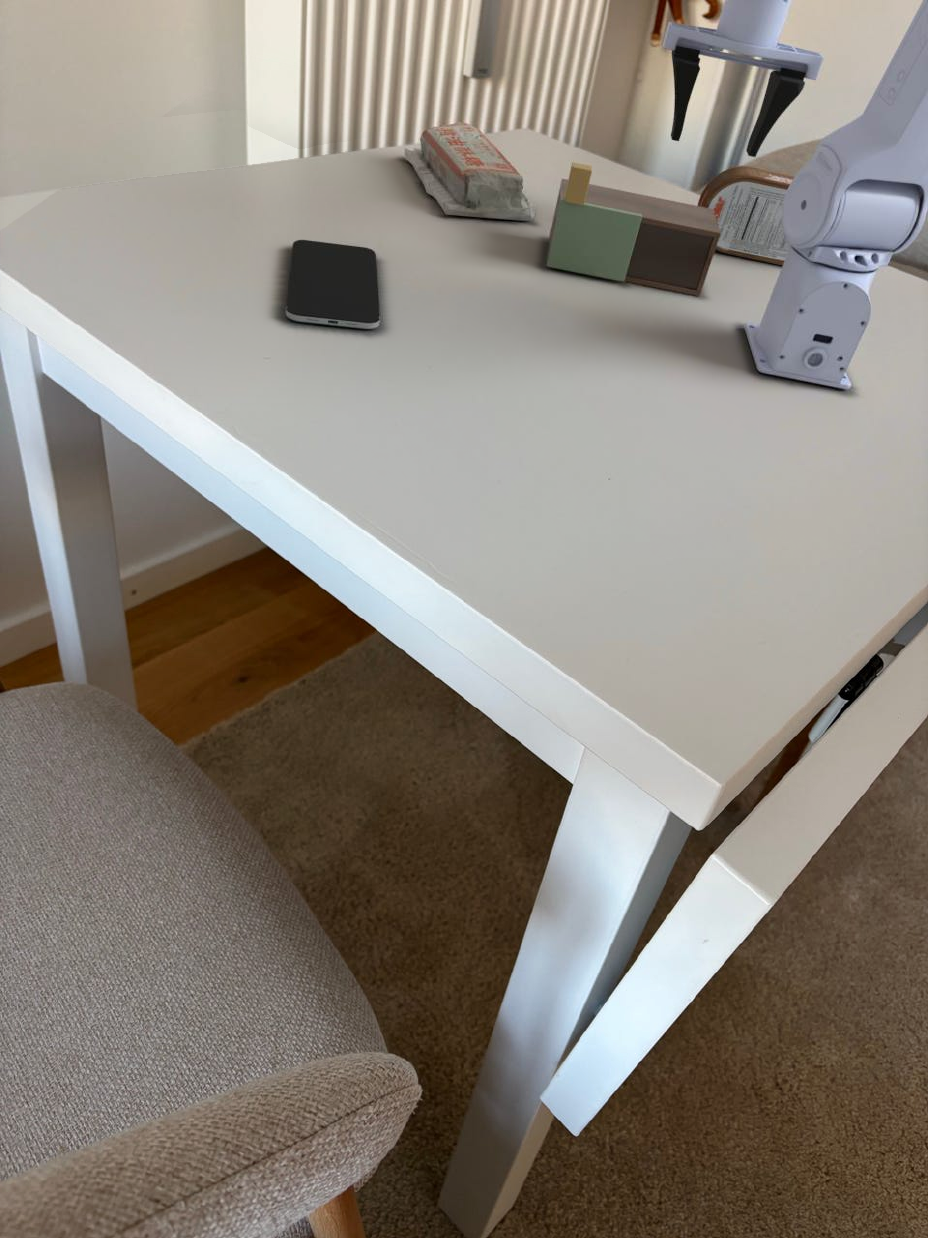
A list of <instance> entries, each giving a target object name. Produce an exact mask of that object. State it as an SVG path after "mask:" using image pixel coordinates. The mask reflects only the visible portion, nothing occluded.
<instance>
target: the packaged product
mask: <svg viewBox="0 0 928 1238" xmlns="http://www.w3.org/2000/svg"><path fill="white" fill-rule="evenodd" d="M419 140H420V148H416V147H415V148H414V149H412V150H411V149H408V148H406V147H404V159H405V160H406V161H407V162H408V163H410V165H412V167H413V169H414V170H415V173H416V174H417V176H418V177H419V179H420V181H421V183H422V184H423V186H424V189H425V192H426V194H428V195H430V196H432V197H433V198H434V199H435V200H436V201H437V203H438V205H439V206H440V207H441V209H442V210H443V212H444V214H445V215H447V216H460V217H473V218H484V219H485V218H486V219H498V220H510V221H511V220H512V221H525V222H533V220H534V216H535V215H534V214H535V211H536V206H535V205H533V203H532V202H531V201H530V200H529V198H527V196H526V195H525V194H524V192H523V189H524V184H523V182H524V179H523V175H521V174H520V172H518V169H516V168H515V167H514V165H513V164H511V162H510V161H509V160H508V159H507V158H506V157H505V156H504V155H503V153H502V152H501V151H499V149H498V148H497V147H496V146H495V145H494V144H493V143H492V142H491V140H490V139H488V137H486V135H485V134H483V132H482V131H481V129H480V128H477V127H475V126H473V125H471V124H469V123H467V122H454V123H451V124H450V123H449V124H444V125H439V126H433V127H429V128H426V129H424V130H423V131H422V133H421V136H420V138H419Z"/></svg>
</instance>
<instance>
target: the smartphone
mask: <svg viewBox="0 0 928 1238" xmlns="http://www.w3.org/2000/svg"><path fill="white" fill-rule="evenodd" d="M291 249H292V250H291V252H290V253H291V257H290V264H289V277H288V285H287V294H286V295H287V296H286V303H285V316H286V317H287V319H289V320H291V321H294V322H298V323H306V324H307V323H308V324H316V325H318V324H319V325H326V326H335V327H344V328H353V329H362V330H373V329H376V328H378V327H379V326H380V323H381V315H380V300H379V284H378V283H379V282H378V280H379V279H378V276H379V275H378V265H377V253H376V251H375V250H373V249H371V248H369V247H364V246H357V245H350V244H343V243H342V244H340V243H333V242H325V241H318V240H316V241H315V240H310V239H298V240H295V241H293V243H292V248H291Z"/></svg>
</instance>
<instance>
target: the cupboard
mask: <svg viewBox="0 0 928 1238" xmlns="http://www.w3.org/2000/svg"><path fill="white" fill-rule="evenodd" d="M567 184H568V178H561V180H560V186H559V189H558V195H557V199H556V203H555V208H554V213H553V217H552V222H551V227H550V230H549V236H548V242H547V250H546V251H547V252H546V263H545V266H546V267H547V260H548V256H549V251H550V247H551V242H552V237H553V233H554V228H555V224H556V219H557V215H558V210H559V206H560V201H561V198H564V199H565V193H566V188H567ZM585 203H588V204H593V205H598V206H603V207H608V208H613V209H618V210H623V211H628V212H633V213H638V214H642V219H641V223H640V226H639V230H638V234H637V237H636V241H635V244H634V248H633V252H632V255H631V259H630V262H629V266H628V270H627V273H626V277H625V280H624V282H626V283H631V284H636V285H641V286H647V287H651V288H656V289H661V290H665V291H666V290H667V291H671V292H675V293H676V292H677V293H681V294H686V295H690V296H696V297H700V296H701V293H702V290H703V288H704V285H705V282H706V278H707V276H708V273H709V270H710V267H711V264H712V261H713V258H714V255H715V253H716V246H717V243H718V240H719V237H720V234H721V233H720V230H719V226H718V223H717V220H716V217H715V214H714V211H713V209H710V208H705V207H700V206H697V205H694V204H690V203H684V202H680V201H676V200H675V201H674V200H670V199H665V198H660V197H655V196H650V195H646V194H640V193H635V192H632V191H631V192H630V191H625V190H621V189H616V188H612V187H605V186H601V185H597V184H591V183H589V186H588V190H587V195H586V199H585Z"/></svg>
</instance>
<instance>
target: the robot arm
mask: <svg viewBox="0 0 928 1238" xmlns="http://www.w3.org/2000/svg"><path fill="white" fill-rule="evenodd" d="M791 4H792V0H724V3H723V5H722V9H721V13H720V16H719V20H718V24H717V27H716V28H709V27H704V26H697V25H690V24H685V23H679V22H674V21H668V22H667V27H666V29H665V35H664V38H663V42H662V48H663V49H664V50H669V51H671V60H672V61H671V62H672V73H673V84H674V85H673V86H674V87H673V88H674V89H673V90H674V101H673V102H674V104H673V105H674V106H673V119H672V125H671V126H672V127H671V131H670V132H671V133H670V138H671V141H675V142H680V140H681V136H682V133H683V130H684V125H685V121H686V117H687V111H688V107H689V103H690V100H691V98H692V94H693V91H694V88H695V85H696V83H697V79H698V76H699V73H700V70H701V67H700V62H701V58H700V56H703V57H707V58H708V57H709V58H714V59H719V60H722V61H727V62H733V63H736V64H737V63H738V64H742V65H747V66H752V67H758V68H761V69H767V70H771V72H770V73H769V77H768V81H767V85H766V88H765V92H764V96H763V100H762V102H761V103H762V104H761V107H760V109H759V113H758V116H757V118H756V121H755V123H754V126H753V129H752V132H751V133H750V137H749V138H748V142H747V146H746V154H747V156H748V157H753V158H756V157H757V155H758V153H759V150H760V148H761V147H762V145H763V144H764V141H765V139H766V138H767V137H768V135H769V134H770V132H771V130H772V129H773V127H774V126H775V124H776V123H777V121H779V119H780V117H781V116H782V114H783V113H784V112H785V111H786V110H787V109H788V108H789V106H790V105H791V104H792V103H793V102H794V101H795V100H796V99H797V98H798V97H799V96H800V94H801V93H802V91H803V90H804V88H805V85H806V82H805V81H804V80H805V79H807V80H813V81H817V78H818V75H819V73H820V70H821V69H822V68H821V67H822V65H823V62H824V59H825V57H824V55H823V54H822V53H820V52H816V51H812V50H807V49H803V48H799V47H796V46H792V45H789V44H788V45H787V44H784V43H780V42H779V40H780V37H781V34H782V31H783V29H784V25H785V22H786V19H787V17H788V14H789V10H790V7H791ZM725 50H726V51H729V52H733V53H729V52H724V51H725ZM734 53H736V54H734ZM738 54H740V55H738ZM743 55H744V56H743ZM748 56H750V57H748ZM753 57H754V58H753ZM755 57H757V58H761V59H757V58H755ZM794 176H795V177H794V179H793V180H792V182H791V184H790V185H789V187H788V189H787V192H786V195H785V198H784V201H783V207H782V224H783V229H784V233H785V236H786V237H785V241H786V242H787V243H788V244H789V245H791V246H790V248H789V251H788V253H787V256H786V258H785V261H784V264H783V265H781V266H782V267H781V269H780V272H779V274H778V277H777V279H776V281H775V284H774V287H773V289H772V292H771V294H770V297H769V300H768V301H767V302H768V303H767V304H766V308H765V310H764V312H763V315H762V317H761V320H760V323H756V322H749V321H747V322H745V324H744V327H743V328H744V331H745V334H746V338H747V340H748V344H749V347H750V351H751V353H752V357H753V360H754V364H755V365H756V366H755V367H756V369H757V371H758V372H760V373H762V374H766V375H770V376H771V375H772V376H776V377H780V378H781V377H782V378H786V379H791V380H792V379H793V380H796V381H802V382H807V383H811V384H817V385H822V386H828V387H831V388H832V387H833V388H836V389H837V388H838V389H841V390H849V389H851V386H852V383H851V381H850V378H849V376H848V374H847V370H848V367H849V365H850V364H851V361H852V359H853V357H854V356H855V353H856V351H857V349H858V347H859V344H860V342H861V340H862V338H863V336H864V334H865V331H866V329H867V327H868V325H869V322H870V320H871V316H872V302H871V298H870V297H871V296H870V288H871V285H872V283H873V281H874V279H875V277H876V275H877V272H878V270H879V268H883V267H885V268H886V267H888V265H889V263H890V261H891V259H892V257H893V255H897V254H899V253H902V252H903V251H905V250H906V249H908V247H909V246H910V245H912V243H913V242H914V241H915V240H916V238H917V237H918V236H919V234H920V232H921V230H922V229H923V226H924V223H925V221H926V218H927V214H928V0H922V2H921V3H920V5H919V7H918V9H917V11H916V12H915V14H914V17H913V18H912V21H911V22H910V24H909V26H908V27H907V30H906V32H905V34H904V36H903V38H902V39H901V41H900V43H899V45H898V47H897V49H896V50H895V53H894V54H893V56H892V58H891V60H890V62H889V63H888V66H887V68H886V69H885V71H884V73H883V75H882V77H881V79H880V81H879V83H878V84H877V87H876V88H875V90H874V92H873V94H872V96H871V98H870V100H869V101H868V104H867V105H866V107H865V109H864V111H863V113H861V115H860V116H858V117H856V118H855V119H854V120H852V121H849V122H848V123H846V124H844V125H843V126H841V127H839V128H837V129H835V130H834V131H832V132H831V133H829V134H827V135H826V136H824V137H822V139H821V140H820V141H819V144H818V145H817V147H816V150H815V151H814V152H813V154H812V156H811V158H810V159H809V160H808V161H807V163H806V164H805V165H804V166H803V167H801V168H800V169H799V170H798V172H797V173H796V174H795V175H794Z"/></svg>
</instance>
